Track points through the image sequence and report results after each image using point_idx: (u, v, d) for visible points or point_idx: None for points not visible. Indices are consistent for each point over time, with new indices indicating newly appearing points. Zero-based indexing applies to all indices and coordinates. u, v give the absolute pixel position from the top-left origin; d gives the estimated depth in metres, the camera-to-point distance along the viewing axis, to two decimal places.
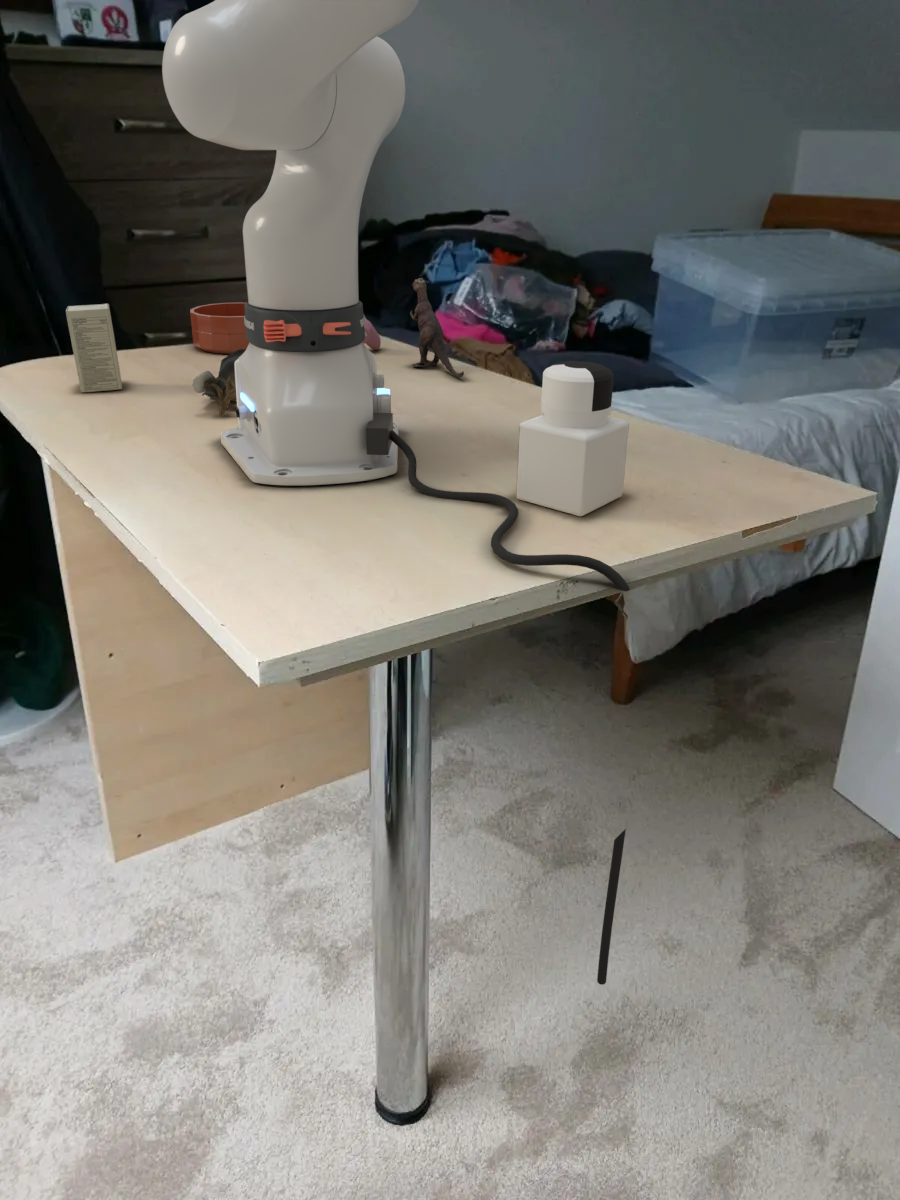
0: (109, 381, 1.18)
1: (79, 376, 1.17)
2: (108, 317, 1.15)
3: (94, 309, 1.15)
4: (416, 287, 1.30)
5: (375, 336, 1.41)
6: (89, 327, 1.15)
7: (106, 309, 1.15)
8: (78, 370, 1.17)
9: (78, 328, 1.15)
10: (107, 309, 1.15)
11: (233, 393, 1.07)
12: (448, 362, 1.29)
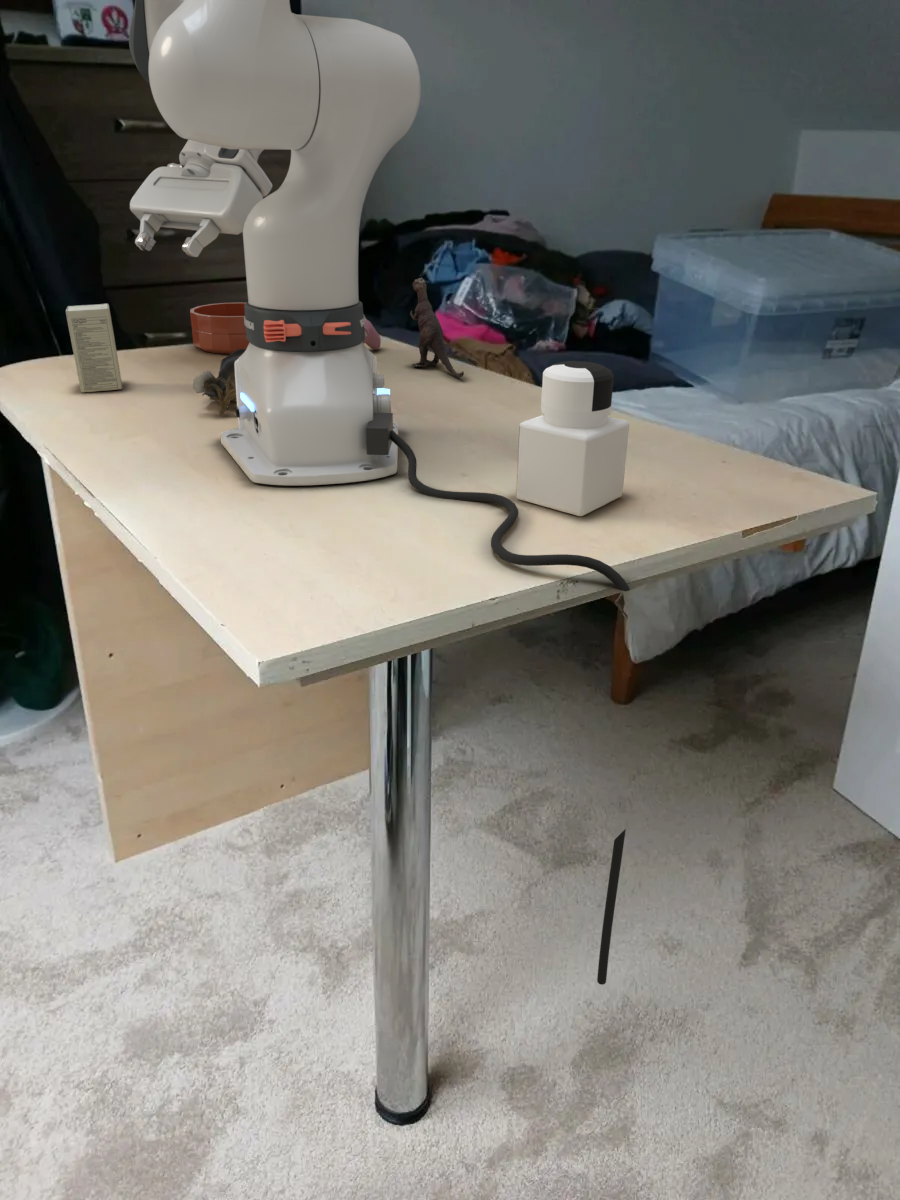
0: (109, 380, 1.18)
1: (79, 376, 1.17)
2: (108, 317, 1.15)
3: (94, 309, 1.15)
4: (416, 287, 1.30)
5: (375, 336, 1.41)
6: (89, 327, 1.15)
7: (106, 309, 1.15)
8: (78, 370, 1.17)
9: (78, 328, 1.15)
10: (107, 309, 1.15)
11: (233, 393, 1.07)
12: (448, 362, 1.29)
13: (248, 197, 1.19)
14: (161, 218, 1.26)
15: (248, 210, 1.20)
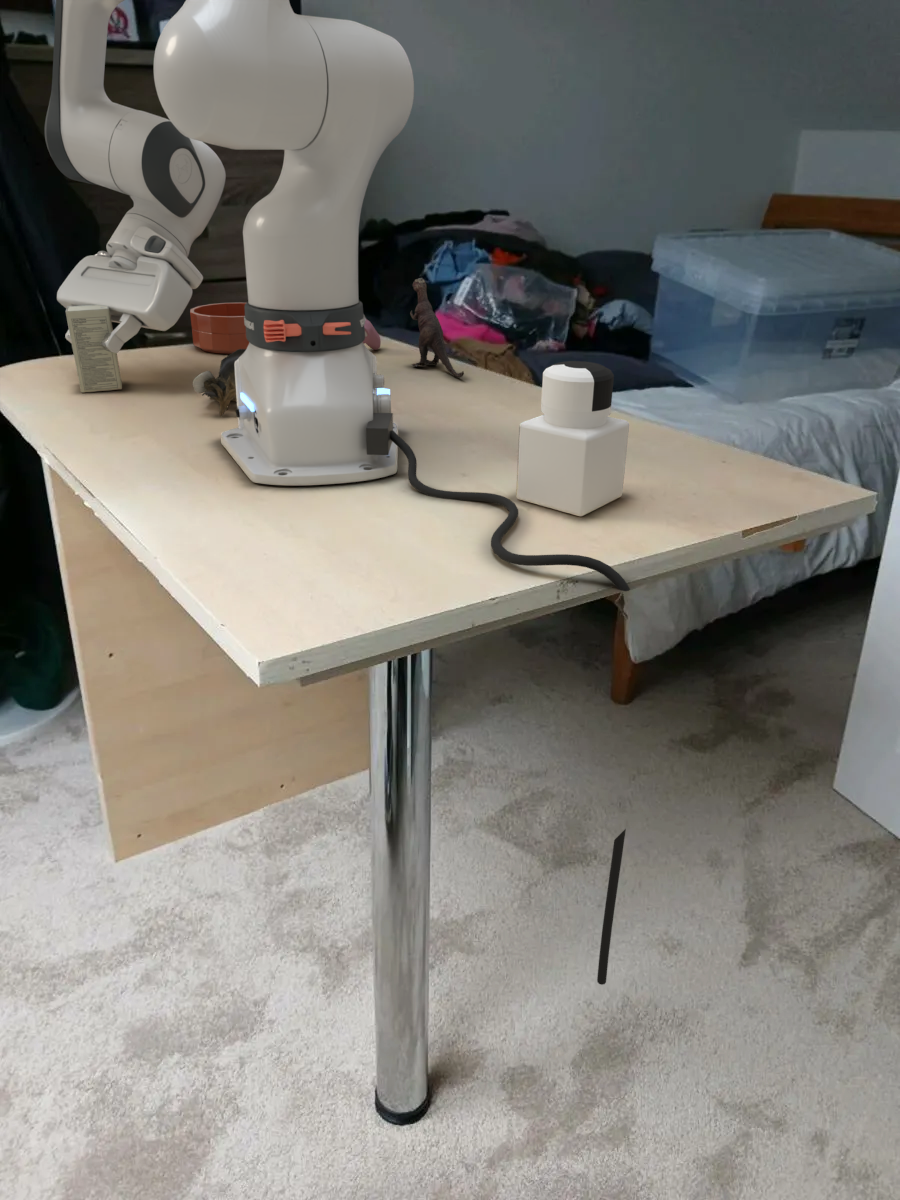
0: (109, 380, 1.18)
1: (79, 376, 1.17)
2: (108, 317, 1.15)
3: (94, 309, 1.15)
4: (416, 287, 1.30)
5: (375, 336, 1.41)
6: (89, 327, 1.15)
7: (106, 309, 1.15)
8: (78, 370, 1.17)
9: (77, 328, 1.15)
10: (107, 309, 1.15)
11: (233, 393, 1.07)
12: (448, 362, 1.29)
13: (175, 292, 1.14)
14: None
15: (175, 306, 1.14)
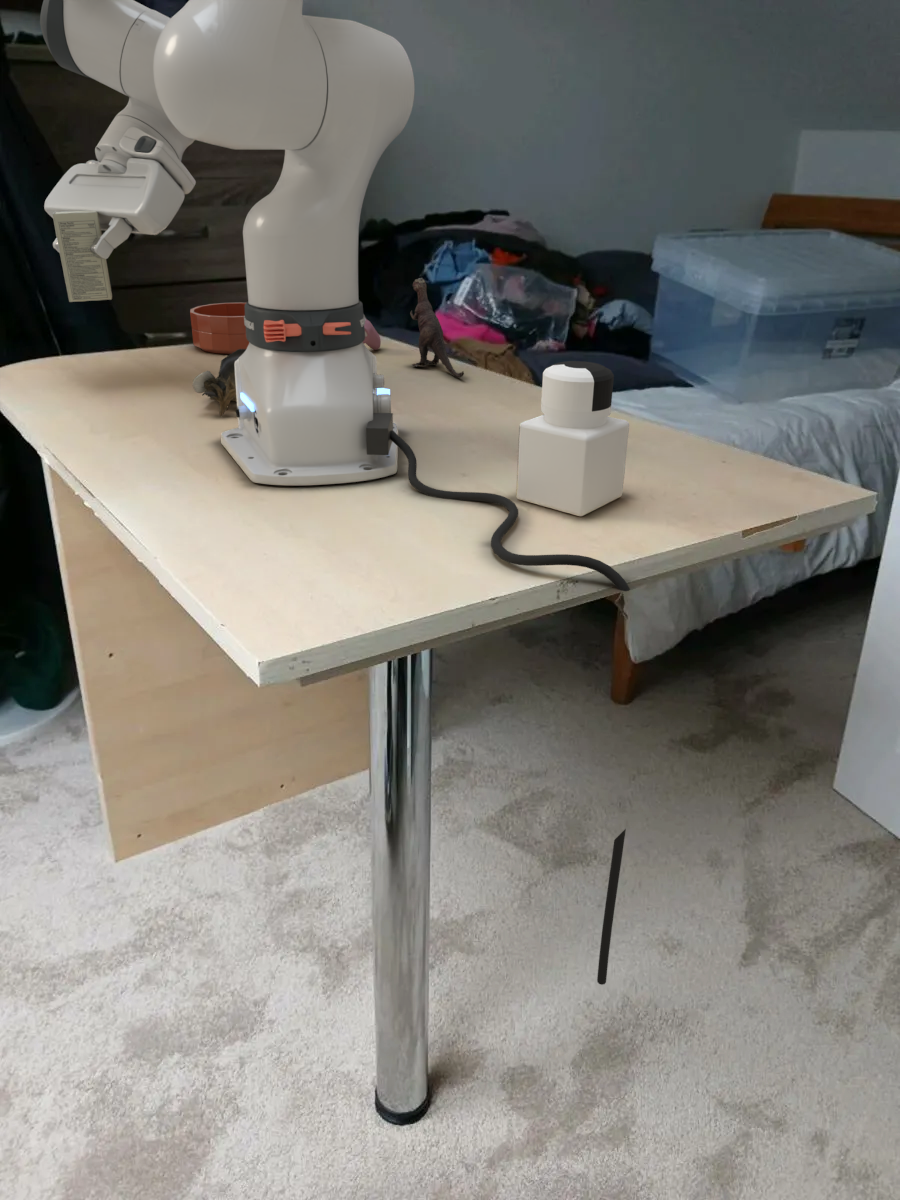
0: (99, 290, 1.14)
1: (67, 284, 1.12)
2: (97, 221, 1.11)
3: (82, 212, 1.10)
4: (416, 287, 1.30)
5: (375, 336, 1.41)
6: (77, 231, 1.10)
7: (94, 212, 1.10)
8: (66, 278, 1.12)
9: (65, 233, 1.10)
10: (95, 212, 1.10)
11: (233, 393, 1.07)
12: (448, 362, 1.29)
13: (167, 194, 1.10)
14: None
15: (167, 208, 1.10)
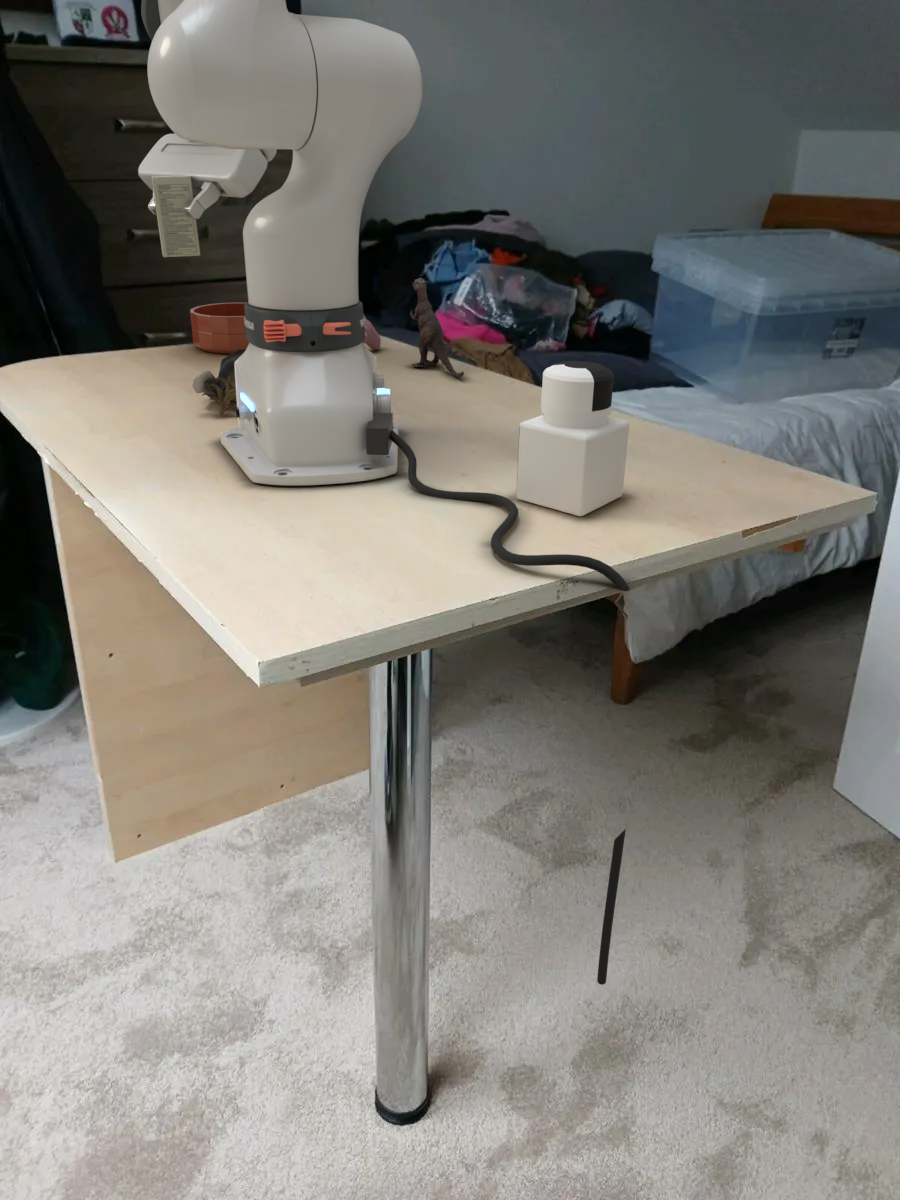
0: (189, 246, 1.28)
1: (162, 241, 1.26)
2: (190, 185, 1.25)
3: (178, 176, 1.24)
4: (416, 287, 1.30)
5: (375, 336, 1.41)
6: (173, 193, 1.24)
7: (189, 177, 1.24)
8: (161, 235, 1.26)
9: (162, 194, 1.24)
10: (189, 177, 1.24)
11: (233, 393, 1.07)
12: (448, 362, 1.29)
13: (253, 161, 1.24)
14: None
15: (253, 174, 1.24)
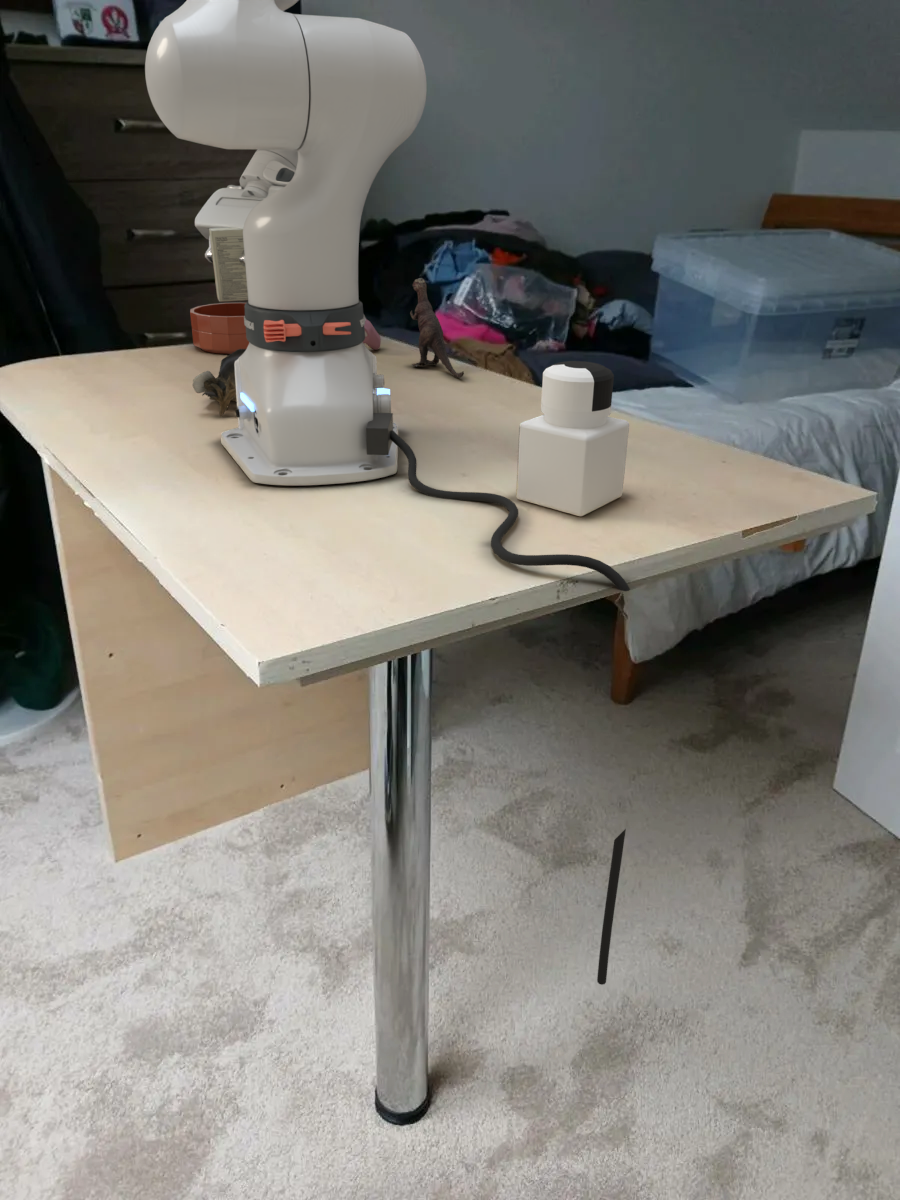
0: (243, 292, 1.40)
1: (219, 287, 1.39)
2: None
3: (234, 229, 1.36)
4: (416, 287, 1.30)
5: (375, 336, 1.41)
6: (229, 244, 1.37)
7: None
8: (218, 282, 1.38)
9: (220, 246, 1.36)
10: None
11: (233, 393, 1.07)
12: (448, 362, 1.29)
13: None
14: None
15: None
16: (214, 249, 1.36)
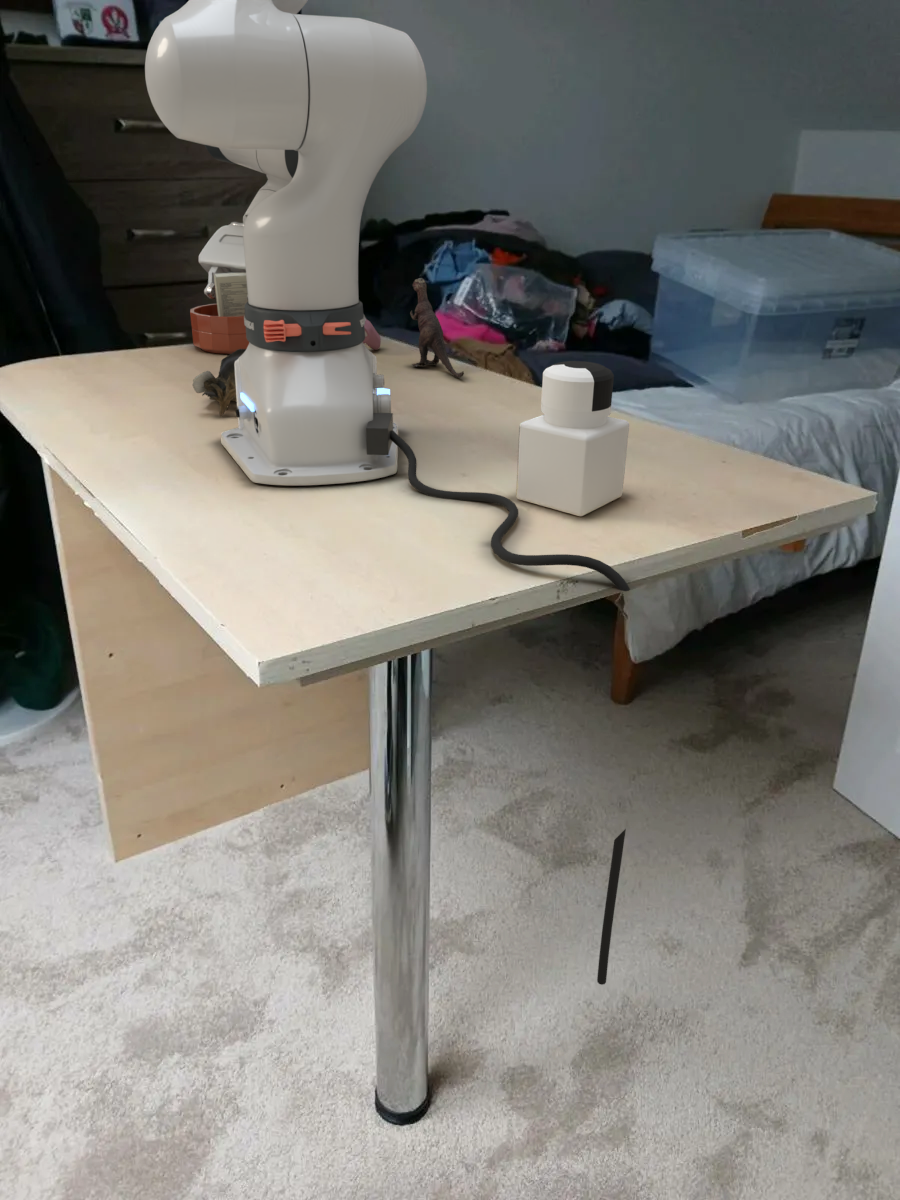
0: None
1: None
2: None
3: (238, 275, 1.39)
4: (416, 287, 1.30)
5: (375, 336, 1.41)
6: (233, 290, 1.40)
7: None
8: None
9: (224, 291, 1.39)
10: None
11: (233, 393, 1.07)
12: (448, 362, 1.29)
13: None
14: (226, 270, 1.45)
15: None
16: (218, 294, 1.39)
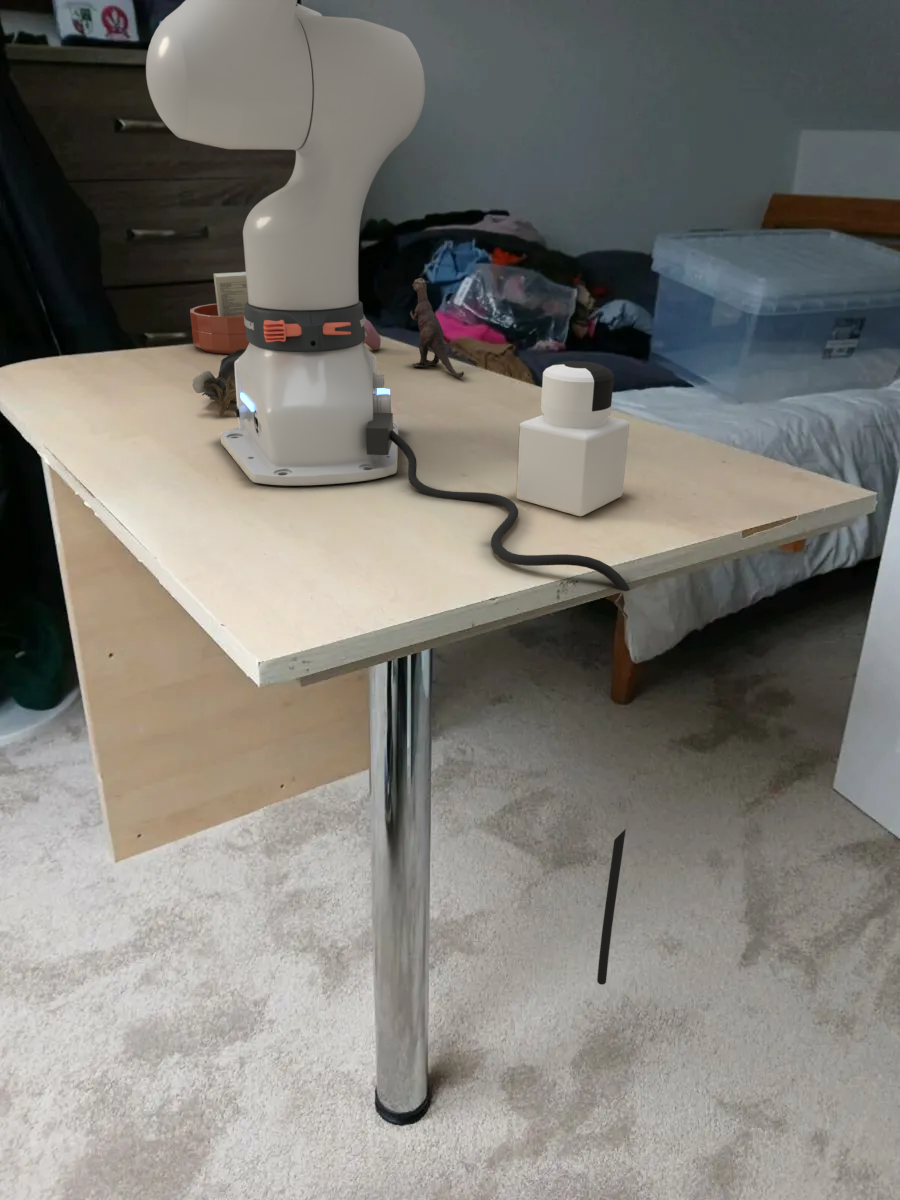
0: None
1: None
2: None
3: (238, 275, 1.39)
4: (416, 287, 1.30)
5: (375, 336, 1.41)
6: (233, 290, 1.40)
7: None
8: None
9: (224, 291, 1.39)
10: None
11: (233, 393, 1.07)
12: (448, 362, 1.29)
13: None
14: None
15: None
16: (218, 294, 1.39)
